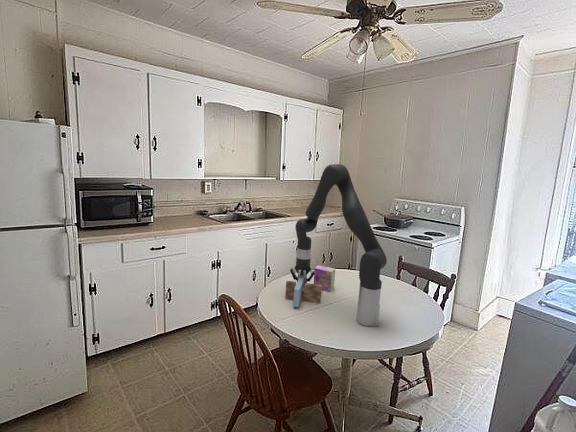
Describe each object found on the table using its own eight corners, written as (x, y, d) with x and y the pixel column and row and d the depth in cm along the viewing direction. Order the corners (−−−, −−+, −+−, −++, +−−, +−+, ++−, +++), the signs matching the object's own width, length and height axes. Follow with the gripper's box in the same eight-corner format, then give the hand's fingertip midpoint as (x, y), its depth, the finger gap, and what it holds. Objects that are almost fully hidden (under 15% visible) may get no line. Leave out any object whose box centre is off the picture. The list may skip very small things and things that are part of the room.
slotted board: (320, 301, 158) (322, 285, 156) (320, 303, 156) (321, 286, 154) (285, 296, 161) (286, 280, 159) (285, 298, 159) (286, 282, 157)
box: (312, 287, 174) (314, 267, 172) (316, 284, 179) (318, 264, 176) (330, 292, 169) (332, 271, 167) (334, 288, 174) (335, 268, 172)
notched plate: (298, 307, 149) (299, 289, 147) (293, 306, 149) (294, 289, 147) (304, 290, 168) (305, 274, 166) (299, 289, 168) (300, 273, 167)
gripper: (289, 257, 159) (287, 288, 162) (316, 260, 156) (313, 292, 160) (291, 252, 166) (289, 283, 170) (317, 255, 164) (315, 286, 167)
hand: (301, 287), depth 165 cm, fingers closed on notched plate, 2 cm apart
